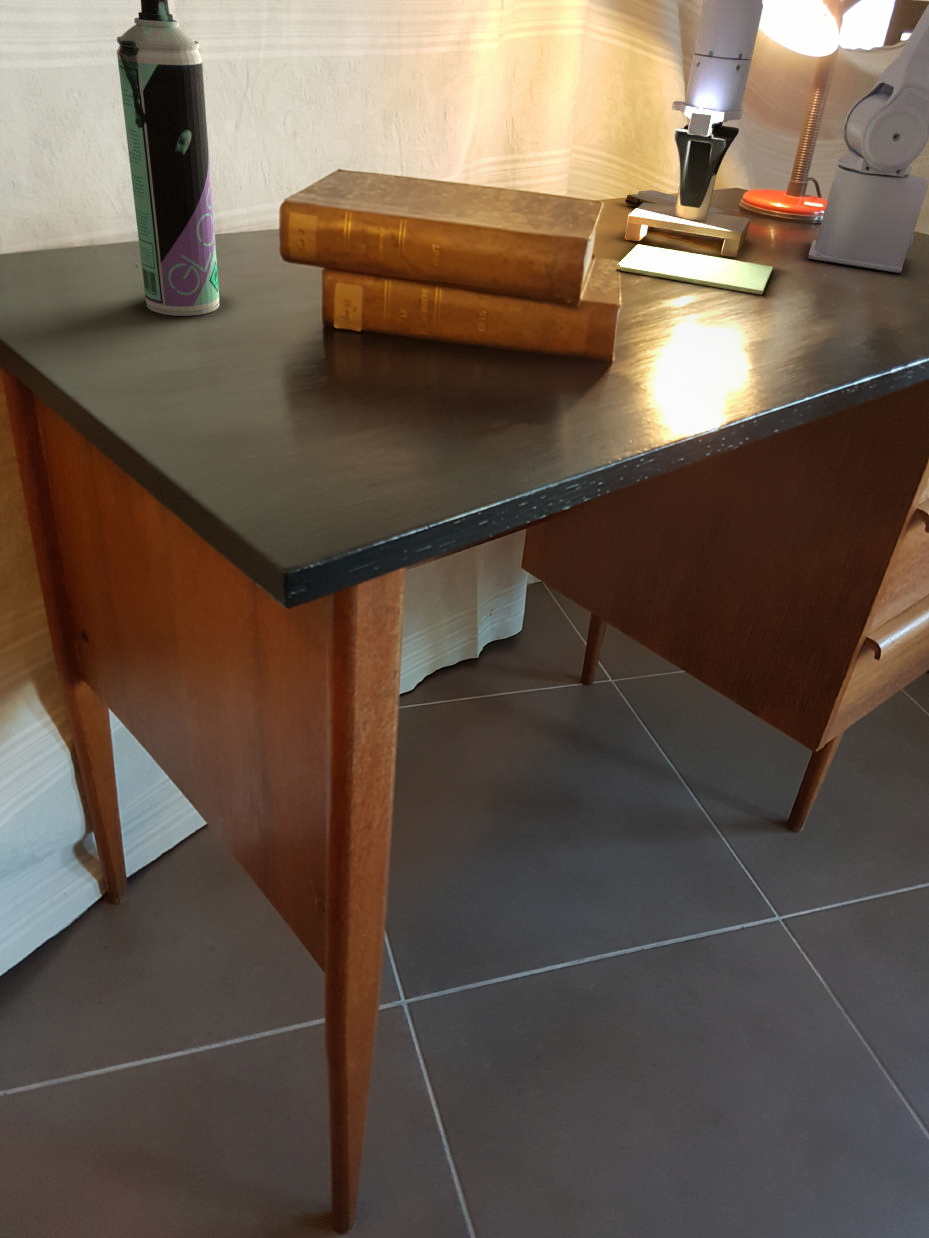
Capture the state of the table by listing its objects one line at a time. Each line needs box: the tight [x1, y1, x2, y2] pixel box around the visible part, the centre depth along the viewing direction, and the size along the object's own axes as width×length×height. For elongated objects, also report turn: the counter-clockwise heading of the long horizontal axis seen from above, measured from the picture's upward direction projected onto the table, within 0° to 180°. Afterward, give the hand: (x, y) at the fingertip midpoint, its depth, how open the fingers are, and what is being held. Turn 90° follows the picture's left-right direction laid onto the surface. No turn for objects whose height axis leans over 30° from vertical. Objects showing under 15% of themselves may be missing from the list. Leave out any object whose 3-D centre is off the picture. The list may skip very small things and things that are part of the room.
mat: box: [618, 244, 774, 296], centre depth 94 cm, size 14×10×1 cm
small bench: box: [624, 202, 751, 258], centre depth 104 cm, size 12×8×2 cm, turn 69°
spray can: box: [116, 0, 220, 317], centre depth 68 cm, size 6×6×20 cm
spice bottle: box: [674, 173, 717, 221], centre depth 101 cm, size 4×4×7 cm
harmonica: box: [624, 189, 725, 214], centre depth 113 cm, size 15×3×2 cm, turn 36°
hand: (693, 203), depth 102 cm, fingers closed on spice bottle, 3 cm apart
